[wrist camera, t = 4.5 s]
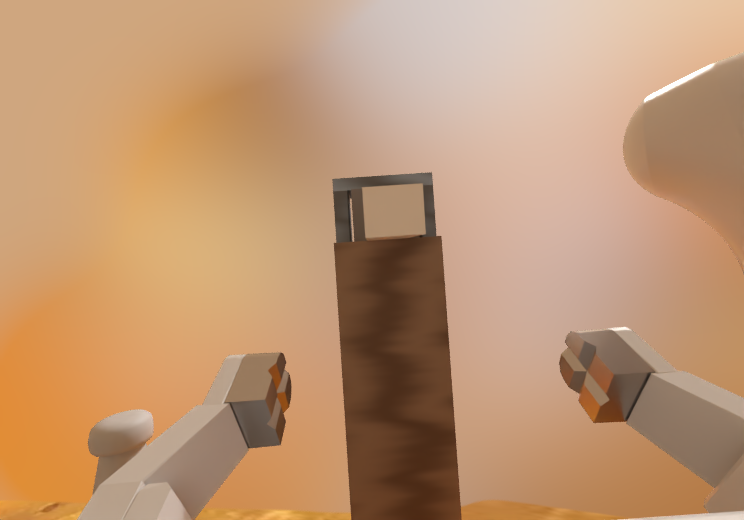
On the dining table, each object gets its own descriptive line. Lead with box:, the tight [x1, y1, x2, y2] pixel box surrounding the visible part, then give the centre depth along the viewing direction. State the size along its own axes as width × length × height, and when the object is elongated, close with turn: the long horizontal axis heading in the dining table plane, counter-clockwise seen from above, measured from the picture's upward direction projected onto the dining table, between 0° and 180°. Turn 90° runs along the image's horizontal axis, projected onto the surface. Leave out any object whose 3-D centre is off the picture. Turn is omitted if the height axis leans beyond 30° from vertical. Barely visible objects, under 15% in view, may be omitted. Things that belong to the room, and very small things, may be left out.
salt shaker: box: [88, 410, 153, 494], centre depth 27 cm, size 6×6×13 cm
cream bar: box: [351, 183, 426, 242], centre depth 22 cm, size 5×13×4 cm, turn 0°
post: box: [333, 173, 461, 520], centre depth 26 cm, size 8×5×31 cm, turn 90°
